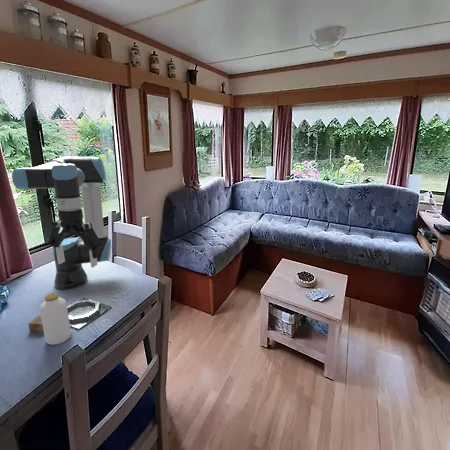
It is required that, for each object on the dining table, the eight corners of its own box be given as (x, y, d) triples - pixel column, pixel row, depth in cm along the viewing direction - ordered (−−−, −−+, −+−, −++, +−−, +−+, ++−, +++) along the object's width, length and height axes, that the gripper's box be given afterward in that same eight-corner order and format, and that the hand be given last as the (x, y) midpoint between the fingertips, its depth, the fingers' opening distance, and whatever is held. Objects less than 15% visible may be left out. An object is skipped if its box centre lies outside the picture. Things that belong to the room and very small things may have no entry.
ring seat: (49, 318, 114) (48, 314, 114) (84, 298, 129) (83, 294, 129) (78, 330, 108) (78, 325, 107) (111, 307, 123) (111, 303, 122)
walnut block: (30, 332, 106) (28, 323, 105) (39, 324, 111) (37, 315, 110) (42, 332, 106) (40, 324, 105) (51, 324, 111) (49, 316, 110)
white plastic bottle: (53, 331, 107) (45, 290, 102) (75, 330, 107) (69, 289, 102) (41, 346, 99) (32, 302, 94) (65, 345, 99) (57, 302, 94)
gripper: (30, 209, 95) (40, 265, 101) (95, 213, 91) (102, 271, 97) (47, 204, 102) (55, 257, 108) (108, 208, 98) (114, 263, 104)
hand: (77, 264), depth 102 cm, fingers open, 13 cm apart
